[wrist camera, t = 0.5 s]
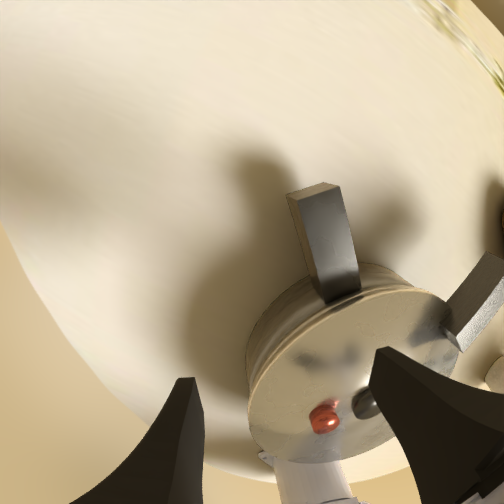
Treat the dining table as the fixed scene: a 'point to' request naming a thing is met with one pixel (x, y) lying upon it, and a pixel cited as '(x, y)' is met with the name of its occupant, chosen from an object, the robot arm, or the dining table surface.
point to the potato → (503, 220)
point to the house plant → (496, 376)
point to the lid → (362, 364)
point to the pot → (316, 274)
